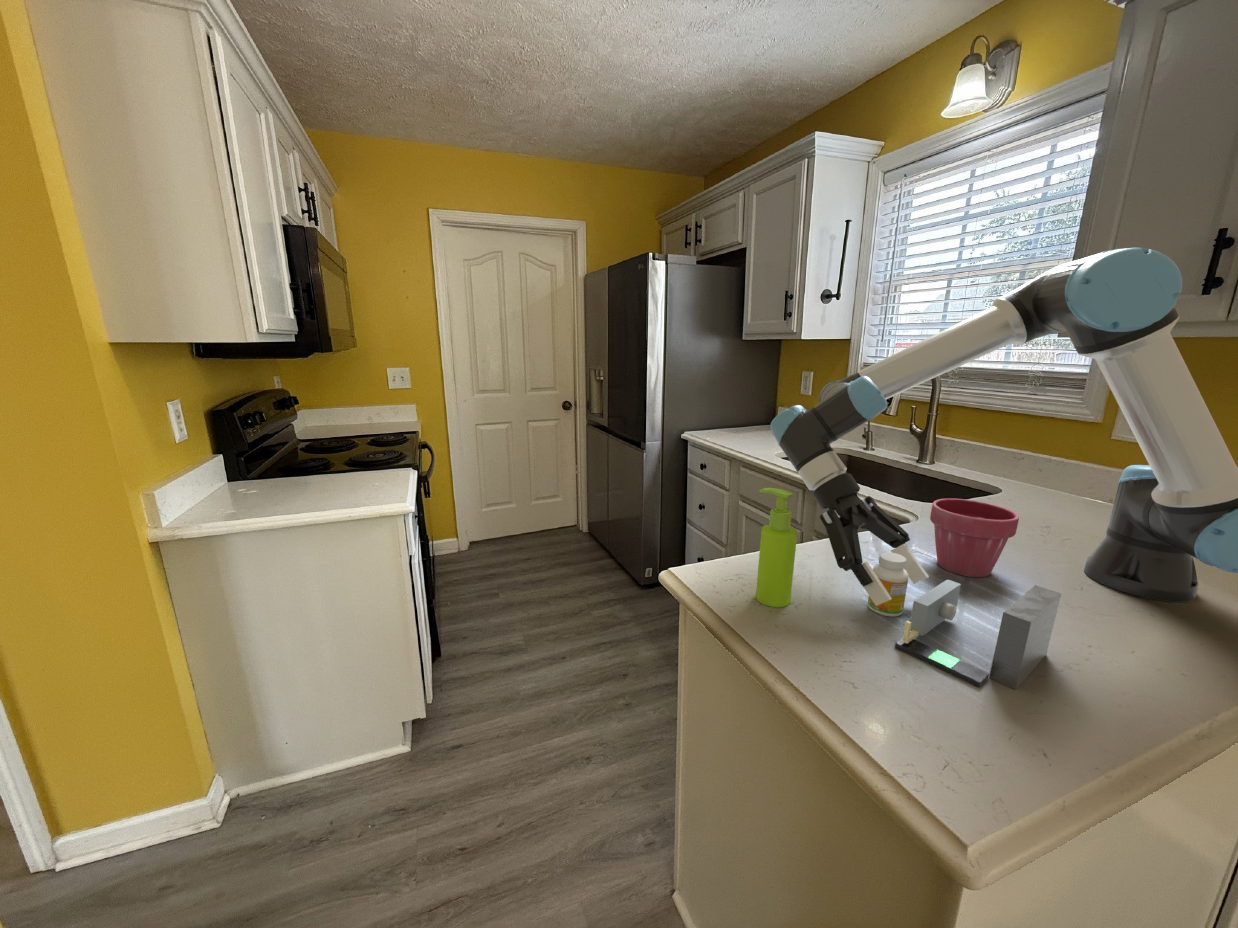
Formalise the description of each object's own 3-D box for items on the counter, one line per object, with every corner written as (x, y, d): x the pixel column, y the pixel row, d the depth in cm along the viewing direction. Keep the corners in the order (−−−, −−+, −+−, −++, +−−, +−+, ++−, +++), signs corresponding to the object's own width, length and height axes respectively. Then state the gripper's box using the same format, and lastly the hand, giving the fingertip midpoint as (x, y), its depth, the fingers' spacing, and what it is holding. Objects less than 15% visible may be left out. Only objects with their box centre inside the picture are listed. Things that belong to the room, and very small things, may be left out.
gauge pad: (897, 639, 75) (902, 607, 74) (942, 608, 84) (947, 579, 83) (922, 650, 72) (928, 617, 71) (965, 617, 81) (971, 587, 80)
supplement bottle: (861, 601, 88) (868, 550, 86) (890, 600, 89) (898, 549, 87) (879, 618, 83) (887, 564, 81) (909, 616, 84) (918, 563, 81)
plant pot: (962, 550, 110) (972, 495, 107) (1025, 580, 97) (1039, 517, 94) (907, 556, 107) (916, 499, 104) (964, 587, 94) (976, 523, 91)
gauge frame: (894, 647, 75) (904, 586, 73) (942, 613, 85) (952, 559, 82) (1006, 700, 64) (1021, 631, 62) (1046, 654, 74) (1061, 593, 71)
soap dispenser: (761, 585, 94) (770, 483, 89) (796, 599, 89) (807, 491, 84) (744, 596, 90) (752, 489, 85) (779, 611, 85) (790, 499, 80)
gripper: (850, 482, 101) (918, 579, 93) (774, 504, 87) (846, 621, 79) (879, 461, 96) (954, 563, 87) (803, 481, 81) (884, 605, 73)
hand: (903, 591), depth 83 cm, fingers open, 12 cm apart
